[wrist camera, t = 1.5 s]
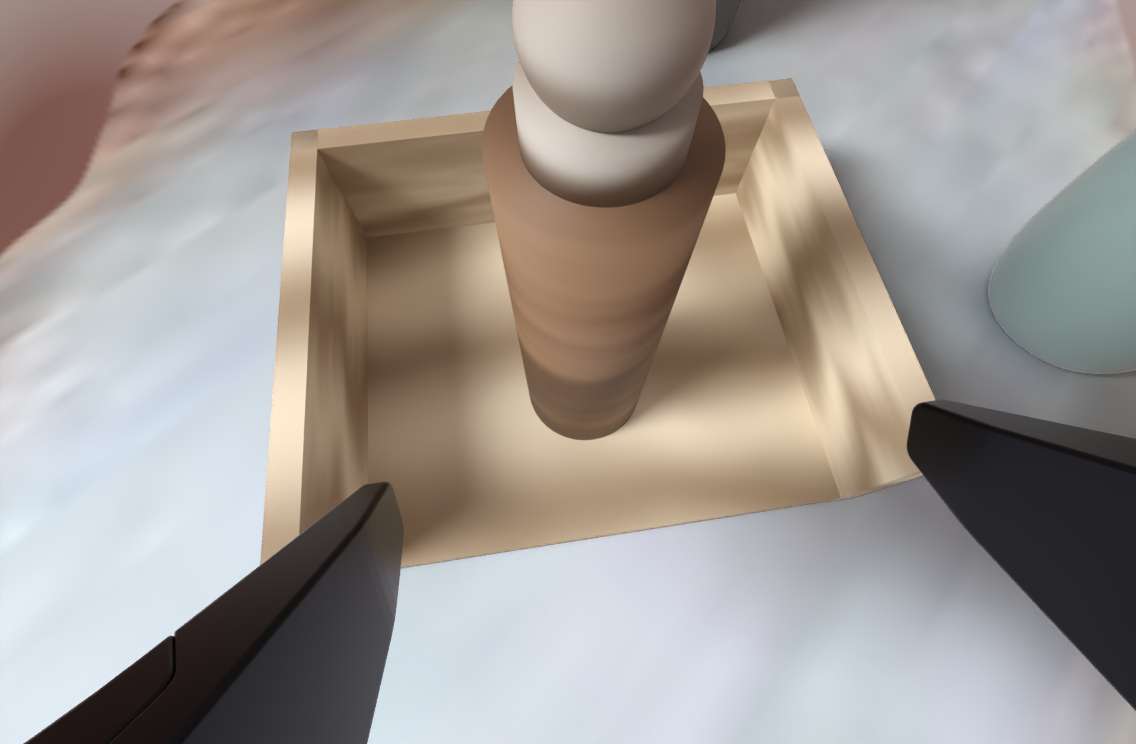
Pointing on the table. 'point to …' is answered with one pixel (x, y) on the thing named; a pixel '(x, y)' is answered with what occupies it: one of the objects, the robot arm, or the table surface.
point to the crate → (495, 367)
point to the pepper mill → (600, 193)
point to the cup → (1076, 271)
